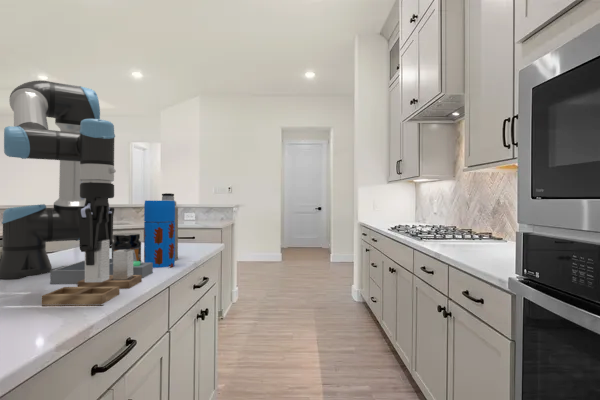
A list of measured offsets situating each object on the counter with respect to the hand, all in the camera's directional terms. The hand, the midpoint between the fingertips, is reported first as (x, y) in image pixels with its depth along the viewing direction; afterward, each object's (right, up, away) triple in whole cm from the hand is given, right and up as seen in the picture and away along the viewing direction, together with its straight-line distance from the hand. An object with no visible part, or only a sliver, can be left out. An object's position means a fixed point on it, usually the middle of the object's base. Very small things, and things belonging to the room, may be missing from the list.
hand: (97, 276), depth 92 cm
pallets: (-4, -6, +7) cm, 10 cm away
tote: (-17, -6, +27) cm, 32 cm away
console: (-4, -6, +28) cm, 29 cm away
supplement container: (-17, -6, +51) cm, 54 cm away
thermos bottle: (-5, -6, +63) cm, 64 cm away
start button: (-4, -4, +28) cm, 29 cm away
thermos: (-2, -6, +48) cm, 48 cm away
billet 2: (-1, -6, +15) cm, 16 cm away
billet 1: (0, -1, 0) cm, 1 cm away
